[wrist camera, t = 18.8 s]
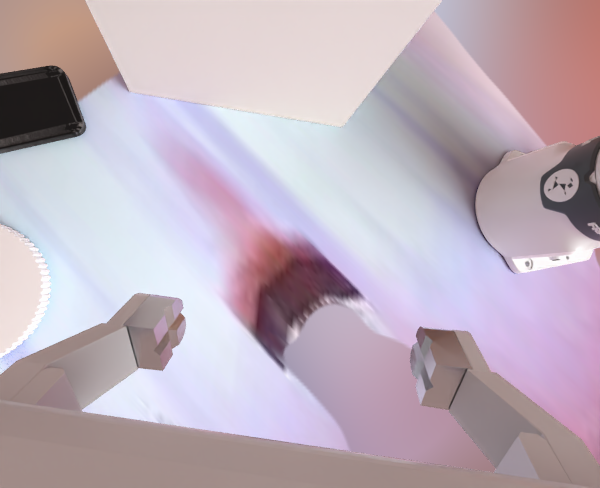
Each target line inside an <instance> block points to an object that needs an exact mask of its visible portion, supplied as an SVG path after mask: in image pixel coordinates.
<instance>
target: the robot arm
mask: <svg viewBox="0 0 600 488" xmlns="http://www.w3.org/2000/svg"><path fill="white" fill-rule="evenodd" d="M475 206H476V215H477V220H478V223H479V226H480V228H481V231H482V233H483V234H484V236H485V238H486V239H487V241H488V242H489V243H490V244H491V245H492V246H493V247H494V248H495V249H496V250H497V251H498V252H499V253H500V254H502V256H503V257H504V258H505V260H506V262H507V264H508V265H509V267H510V268H511V270H512V271H513V272H514V273H517V274H519V273H526V272H531V271H536V270H541V269H546V268H551V267H556V266H561V265H566V264H571V263H576V262H581V261H586V260H589V259H590V257H591V255H592V252H593V249H594V248H600V136H598V137H595V138H593V139H590V140H588V141H586V142H585V143H582V144H579V145H577V146H576V145H574V144H571V143H567V142H559V143H556V144H553V145H550V146H547V147H544V148H541V149H538V150H535V151H532V152H529V153H527V154H524V153H522V152H520V151H517V150H513V151H510V152H507V153H506V154H505V155H504V157H503V159H502V160H501V162H500V164H499V165H498V166H497V167H495V168H494V169H492V170H491V171H489V172H488V173H487V174H486V175H485V176H484V178H483V179H482V181H481V183H480V185H479V187H478V190H477V194H476V203H475ZM182 309H183V304H182V300H181V299H179V298H173V297H166V296H159V295H150V294H143V293H137V294H135V295H134V296H133V297H132V298H131V299H130V300H129V301H128V302H127V303H126V304H125V305H124V306H123V307H122V308H121V309H120V310H119V311H118V312H117V313H116V314H115V315H114V316H113V317H112V318H111V319H110V320H109V321H108V322H107V323H106V324H104V323H101V324H99V325H97V326H94V327H92V328H90V329H88V330H85V331H83V332H81V333H79V334H76V335H74V336H72V337H70V338H67V339H65V340H63V341H61V342H58V343H56V344H54V345H52V346H49V347H47V348H45V349H43V350H40V351H38V352H36V353H34V354H31V355H29V356H27V357H25V358H22V359H20V360H18V361H16V362H15V363H14V364H13V365H11V366H10V367H9V368H8V369H7V370H6V371H4V372H3V373H2V374H1V375H0V488H600V465H599V464H598V462H597V461H596V460H595V458H594V457H593V455H592V454H591V452H590V451H589V449H588V448H587V446H586V445H585V443H584V442H583V441H582V439H581V438H579V437H578V436H577V435H575V434H574V433H573V432H572V431H570V430H569V429H568V428H567V427H565V426H564V425H563V424H561V423H560V422H559V421H558V420H556V419H555V418H554V417H552V416H551V415H550V414H549V413H547V412H546V411H545V410H543V409H542V408H541V407H540V406H538V405H537V404H536V403H535V402H533V401H532V400H531V399H529V398H528V397H527V396H526V395H524V394H523V393H522V392H520V391H519V390H518V389H517V388H515V387H514V386H513V385H511V384H510V383H509V382H508V381H506V380H505V379H504V378H502V377H501V376H500V375H499V374H497V373H494V372H491V370H490V369H489V367H488V365H487V363H486V361H485V359H484V357H483V356H482V354H481V352H480V350H479V348H478V346H477V345H476V343H475V341H474V339H473V337H472V335H471V334H470V333H469V332H468V331H459V330H446V329H437V328H428V327H420V328H419V329H418V331H417V334H416V337H417V341H418V342H417V343H416V344H414V345H413V347H412V350H411V357H410V363H411V370H412V374H413V375H414V376H415V377H416V378H417V379H418V381H417V384H416V390H417V394H418V397H419V401H420V405H422V406H428V407H434V408H440V409H446V410H449V412H450V414H451V415H452V416H453V417H454V418H455V420H456V421H457V422H458V423H459V425H460V426H461V427H462V428H463V429H464V431H465V432H466V433H467V434H468V435H469V437H470V438H471V439H472V440H473V441H474V443H475V444H476V445H477V446H478V448H479V449H480V450H481V451H482V452H483V454H484V455H485V456H486V457H487V458H488V460H489V461H490V462H491V463H492V464H493V466H494V467H495V468H496V470H495V472H494V473H493V472H486V471H479V470H473V469H465V468H459V467H452V466H446V465H439V464H432V463H425V462H418V461H412V460H405V459H398V458H391V457H385V456H378V455H371V454H364V453H357V452H350V451H344V450H337V449H330V448H323V447H316V446H309V445H303V444H296V443H289V442H283V441H276V440H269V439H262V438H256V437H249V436H242V435H235V434H229V433H222V432H215V431H209V430H202V429H195V428H188V427H181V426H175V425H168V424H161V423H154V422H148V421H141V420H134V419H127V418H121V417H114V416H107V415H100V414H93V413H87V412H83V411H82V409H84V408H85V407H86V406H88V405H89V404H91V403H92V402H93V401H95V400H96V399H98V398H99V397H100V396H102V395H103V394H104V393H106V392H107V391H109V390H110V389H111V388H113V387H114V386H116V385H117V384H118V383H120V382H121V381H122V380H124V379H125V378H127V377H128V376H129V375H131V374H132V373H134V372H135V371H136V370H138V368H143V369H153V370H162V371H163V370H164V368H165V366H166V365H167V363H168V362H169V360H170V358H171V357H172V355H173V353H172V348H174V347H176V346H177V345H179V344H180V342H181V340H182V338H183V335H184V332H185V326H186V322H185V317H184V316H183V315H182V314H181V313H180V312H181V310H182Z"/></svg>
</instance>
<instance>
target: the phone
mask: <svg viewBox="0 0 600 488" xmlns="http://www.w3.org/2000/svg"><path fill="white" fill-rule="evenodd" d="M77 102H78V101H77V98H76V95H75V93H74V90H73V87H72V85H71V82H70V79H69V78H68V76H67V75H66V74H65V72H64V71H63V70H62V69H61V68H59V67H57V66H45V67H39V68H33V69H27V70H20V71H14V72H8V73H2V74H0V154H1V153H5V152H10V151H14V150H19V149H23V148H28V147H32V146H37V145H41V144H46V143H50V142H55V141H59V140H64V139H68V138H73V137H77V136H80V135H82V134H83V133H84V132H85V129H86V125H85V122H84V119H83V116H82V113H81V111H80V108H79V105H78V103H77Z"/></svg>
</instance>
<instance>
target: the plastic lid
mask: <svg viewBox="0 0 600 488" xmlns="http://www.w3.org/2000/svg"><path fill="white" fill-rule="evenodd" d="M18 233H19V232H18V231H15V230H13V229H12V228H10V227H6V226H5V225H2V224H0V358H1V357H3V355H6V354H8V353H10V351H11V350H14V349H16V348H17V347H16V346H18V345H21V344H22V343H23V342H22V341H23V340H26V339H28V335H30V334H32V333H33V329H36V328H37V327H38V326H37V324H38V323H40V322H41V321H42V320H41V317H43V316H44V315H45V313H44V311H45V310H47V307H46V305H47V304H49V301H48V298H50V296H51V295H50V294H49V292H50V291H51V288H50V285H51V282H49V279H51V276H49V275H48V273H49V272H50V271H49V270H47V267H48V265H47V264H45V263H44V261H45V258H42V257H41V256H42V253H39V252H38V250H39V249H38V248H36V247H34V244H33V243H31V242H29V241H30V240H29V239H28V238H24V235H23V234H18Z"/></svg>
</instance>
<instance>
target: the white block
mask: <svg viewBox="0 0 600 488" xmlns="http://www.w3.org/2000/svg"><path fill="white" fill-rule="evenodd" d="M85 1H86V4H87V6H88V8H89V10H90V12H91V14H92V16H93V18H94V20H95V22H96V24H97V26H98V28H99V30H100V32H101V34H102V36H103V38H104V40H105V42H106V44H107V46H108V48H109V50H110V53H111V54H112V57H113V59H114V60H115V63H116V65H117V67H118V69H119V71H120V73H121V75H122V77H123V79H124V81H125V83H126V85H127V87H128V89H129V91H130V92H132V93H138V94H144V95H150V96H156V97H162V98H168V99H174V100H180V101H186V102H192V103H198V104H204V105H210V106H216V107H222V108H228V109H234V110H240V111H246V112H252V113H258V114H264V115H270V116H276V117H282V118H288V119H294V120H300V121H306V122H312V123H318V124H324V125H330V126H336V127H343V126H344V125H345V124H346V122H347V121H348V120H349V118H350V117H351V116H352V115H353V113H354V112H355V111H356V110H357V108H358V107H359V106H360V104H361V103H362V102H363V101H364V99H365V98H366V97H367V96H368V94H369V93H370V92H371V90H372V89H373V88H374V87H375V85H376V84H377V83H378V82H379V80H380V79H381V78H382V76H383V75H384V74H385V73H386V71H387V70H388V69H389V68H390V66H391V65H392V64H393V62H394V61H395V60H396V59H397V57H398V56H399V55H400V54H401V52H402V51H403V50H404V48H405V47H406V46H407V45H408V43H409V42H410V41H411V40H412V38H413V37H414V36H415V35H416V33H417V32H418V31H419V29H420V28H421V27H422V26H423V24H424V23H425V22H426V21H427V19H428V18H429V17H430V15H431V14H432V13H433V12H434V10H435V9H436V8H437V7H438V5H439V4H440V3H441V1H442V0H85Z"/></svg>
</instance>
